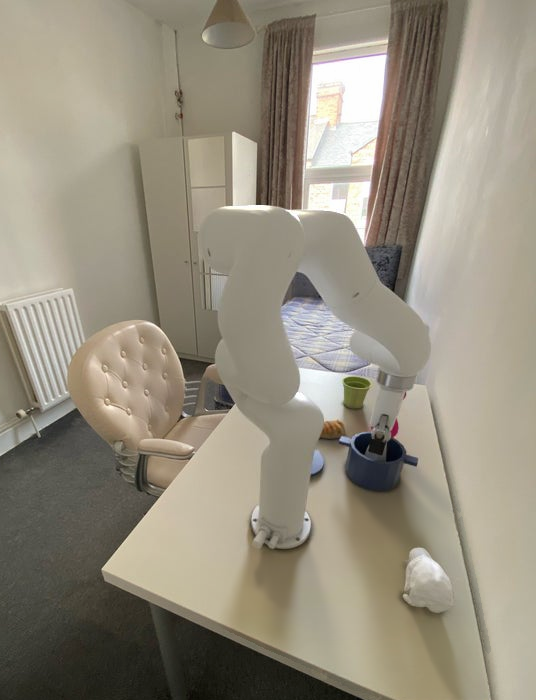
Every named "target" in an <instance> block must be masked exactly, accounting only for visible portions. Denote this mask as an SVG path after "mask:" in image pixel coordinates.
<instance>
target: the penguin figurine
mask: <svg viewBox="0 0 536 700" xmlns="http://www.w3.org/2000/svg"><path fill="white" fill-rule="evenodd" d="M405 562H406V568H405V582H404V583H405V584H404V589H403V590H404V591H405V592H407V591H409V590H410V591H409V594H408V593H403V594H402V598H403V600H404V601H405V602H406V603H407V604H409V605H410V606H411V607H417V608H425V607H426V608H427V610H429V611H430V612H432V613H434V614H440V613H442V612H446V611H448V610H449V609H450V608H452V607H453V606H454V604H455V598H454V588H453V585H452V582H451V579H450V578H449V576H448V575H447V573H446V572H445V571H444V569H443V568H442V566H441V565H440V563H438V562H437V561H435V560H434V559H433V558H432V556H431V554H430V553H429V552H428V551H427V550H426V549H425V548H423V547H419V546H418V547H414V548H412V549H411V550H410V551H409V554H408V558H407V559H405Z"/></svg>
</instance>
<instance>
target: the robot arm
mask: <svg viewBox="0 0 536 700" xmlns="http://www.w3.org/2000/svg"><path fill="white" fill-rule="evenodd" d="M196 238H197V239H196V243H197V249H198V252H199V254H200V255H199V256H200V258H202V261H203V262H204V263H205V265H206V266H208V267H209V268H210V269H212V270H213V271H215V272H217V273H219V274H222V275H226V276H227V277H226V281H225V283H224V287H223V290H222V292H221V296H220V298H219V299H220V300H219V303H218V304H219V305H218V307H217V325H218V330H219V333H220V336H221V339H220V341H218V344H217V346H216V349H215V353H214V365H215V369H216V373H217V375H218V376H219V378H220V380H221V382H222V384H223V385H224V387H225V389H226V390H227V392H228V394H229V396H230V398H231V399H232V401H233V403H234V404H235V406H236V408H237V409H238V410H239V412H240V413H241V414H242V415H243V416H244V417H245V418H246V419H247V420H248V421H249V422H251V424H253V425H254V426H256V427H257V428H258V429H259V430H260V431H261V432H262V433H263V434H264V435H266V437H267V438H268V439H269V444H268V445H266V447H265V448H264V449H263V451H262V453H261V457H260V472H259V473H260V476H259V501H258V505H256V506H255V507H254V509H253V511H252V514H251V517H250V518H251V519H250V523H251V525H250V526H251V528H252V532H253V533H254V535H255V537H254V539H253V540H252V542H251V544H252V546H253V548H255V549H256V550H260V549H262V547H263V546H264V544H265V545H267V547H268V548H269V549H271V550H274V549H279V550H286V549H293V548H297V547H298V546H301V545H302V544H303V543H304V542H306V540H308V538H309V535H310V533H311V528H312V522H311V518H310V516H309V514H308V512H307V503H308V494H309V488H310V481H311V476H310V475H311V467H312V461H313V456H314V451H315V449H316V448H317V445H318V442H319V439H321V438H320V435H321V433H322V430H323V426H324V422H325V417H324V413H323V412H322V410H321V408H320V406H319V405H318V404H317V403H316V402H315V401H313V399H311V398H310V397H309V396H307V395H305V394H304V393H302V392H301V391H299V389H300V386H301V374H300V368H299V365H298V362H297V358H296V356H295V354H294V353H295V352H294V350H293V348H292V345H291V342H290V339H289V337H288V334H287V330H286V328H285V323H284V320H283V314H282V308H283V303H284V299H285V297H286V294H287V291H288V289H289V287H290V285H291V283H292V282H293V279H294V277H295V275H296V273H301V274H303V275H305V276H306V277H307V278H308V280H309V281H310V283H311V284H312V286H313V287H314V289H315V290H316V292H317V293H318V294H319V296H320V297H321V299H322V300H323V302H324V303H325V305H326V307H327V308H328V309H329V311H330V313H331V314H332V315H333V316H334V317H335V318H336V319H338V320H339V321H341V322H342V323H343V324H345V325H346V326H348V327H350V328H352V329H353V332H352V334H351V336H350V338H349V349H350V351H351V352H352V354H354V355H355V356H356V357H357V358H359V359H361V360H363V361H366V362H368V363H371V364H372V365H376V366H378V368H377V369H378V370H377V374H376V378H375V383H376V385H378V389H377V393H376V397H375V400H374V404H373V408H372V412H371V417H370V421H369V422H368V423H369V427H370V428H371V427H375V430H374V433H373V437H371V441H370V445H369V449H368V451H369V452H371V453H374V454H378V455H383V452H384V448H385V445H386V441H387V440H386V437H387V433H388V430H389V431H391V430H392V428H393V426H394V423H395V421H396V418H397V419H398V416H399V414H400V410H401V407H402V405H403V401H404V400H403V398H404V394H405V391H406V392H409V391H411V390H413V389H414V386H415V382H416V379H417V376H418V373H419V372H421V371H422V370H423V369H424V368H425V367H426V365H427V364H428V362H429V360H430V356H431V353H432V352H431V351H432V345H431V339H430V326H429V324H427V322H425V321H423V319H422V317H421V316H420V315H419V313H417V311H416V310H414V308H412V307H411V306H410V305H409V304H408V303H406V302H405V301H404V300H403V299H402V298H401V297H399V296H398V294H396V293H395V292H393V291H392V289H390V288H389V287H387V286H386V285H385V284H384V283H382V282H381V280H380V278H379V276H378V273H377V271H376V269H375V267H374V264H373V263H372V261H371V258H370V256H369V253H368V252H367V249H366V247H365V245H364V243H363V241H362V238H361V236H360V234H359V232H358V229H357V228H356V226H355V224H354V222H353V220H352V219H351V218H350V217H349V216H348V215H346V214H345V213H344V212H341V211H338V210H335V209H287V208H283V207H281V206H275V205H269V204H268V205H266V204H265V205H263V204H261V205H256V204H255V205H237V206H232V205H231V206H221V207H218V208H215V209H213V210H212V211H210V212H209V213H208V214H207V215H206V216H205V217H204V219H203V220H202V221H201V223H200V225H199V228H198V232H197V236H196ZM404 399H405V398H404ZM377 429H378V430H377ZM384 431H385V434H383V432H384ZM376 432H377V433H376Z"/></svg>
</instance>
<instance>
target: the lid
mask: <svg viewBox="0 0 536 700" xmlns="http://www.w3.org/2000/svg"><path fill="white" fill-rule="evenodd" d="M324 464H325V459H324V456H323V455H322V453H321V452H320V451H319V450H318V449H316V448H315V451H314V456H313V461H312V467H311V475H310V477H312V476H314V475H317V474H318V473H320V472H321V471H322V469H323V467H324Z"/></svg>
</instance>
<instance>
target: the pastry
mask: <svg viewBox="0 0 536 700" xmlns="http://www.w3.org/2000/svg"><path fill="white" fill-rule="evenodd" d="M346 435H347V431H346V427H345V424H344V422H343V421H342V420H339V419H336V420H324V426H323V430H322V433H321V435H320V438H319V439H328V440H330V439H333V440H334V439H335V440H336V439H340V438H341V436H343V437H346Z"/></svg>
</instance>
